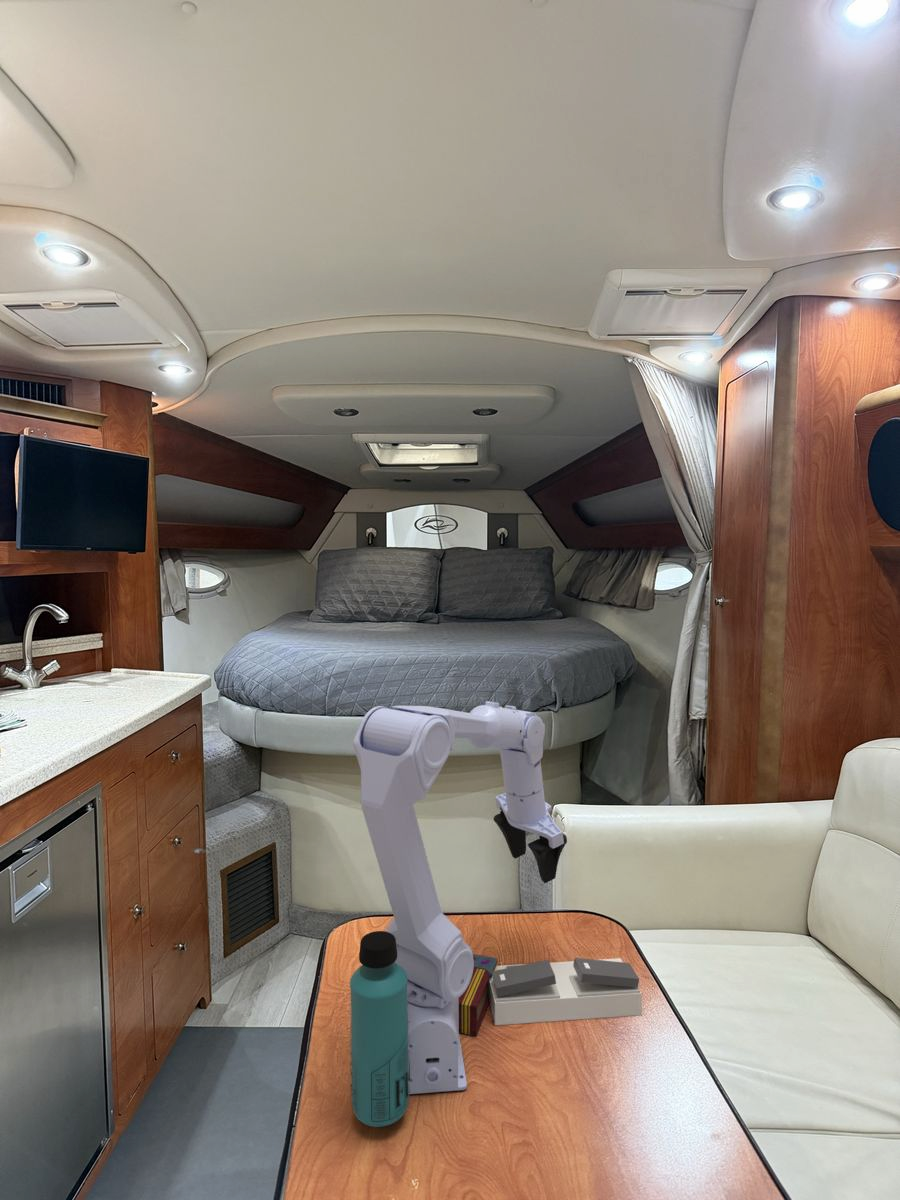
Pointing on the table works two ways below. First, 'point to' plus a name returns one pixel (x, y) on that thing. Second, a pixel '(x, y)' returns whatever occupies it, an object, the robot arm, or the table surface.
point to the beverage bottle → (379, 1033)
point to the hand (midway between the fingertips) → (533, 867)
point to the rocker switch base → (564, 999)
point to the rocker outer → (605, 972)
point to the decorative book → (476, 995)
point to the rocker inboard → (523, 977)
